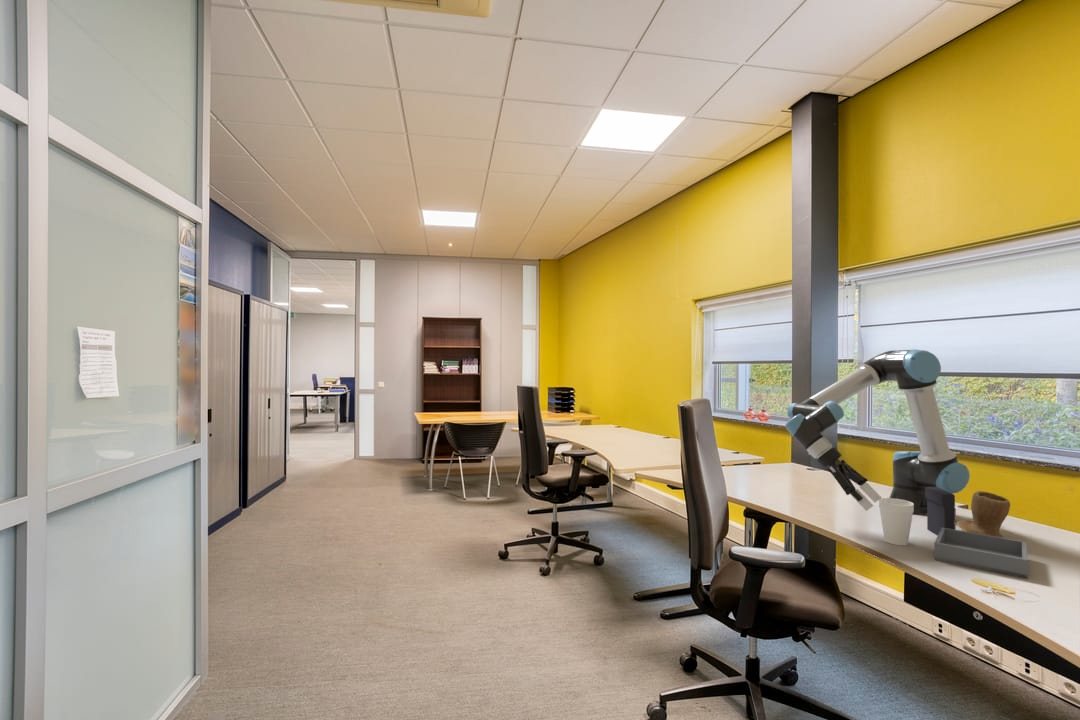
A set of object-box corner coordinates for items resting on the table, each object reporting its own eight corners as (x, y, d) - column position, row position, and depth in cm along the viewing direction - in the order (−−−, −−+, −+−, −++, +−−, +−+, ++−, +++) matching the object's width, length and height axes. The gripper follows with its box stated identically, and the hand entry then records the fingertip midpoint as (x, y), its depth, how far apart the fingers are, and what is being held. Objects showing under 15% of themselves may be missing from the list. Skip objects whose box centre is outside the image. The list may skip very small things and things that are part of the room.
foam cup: (920, 547, 164) (919, 506, 164) (887, 546, 165) (887, 505, 165) (903, 537, 173) (903, 498, 173) (873, 536, 174) (873, 497, 175)
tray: (941, 542, 168) (941, 527, 168) (1026, 558, 155) (1026, 541, 155) (934, 559, 154) (934, 542, 154) (1027, 579, 140) (1027, 560, 140)
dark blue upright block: (957, 540, 171) (957, 494, 171) (942, 539, 171) (942, 494, 172) (939, 530, 181) (939, 487, 181) (925, 529, 182) (925, 486, 182)
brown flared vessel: (1015, 547, 165) (1015, 499, 165) (968, 541, 170) (968, 495, 170) (999, 533, 178) (999, 489, 178) (956, 528, 184) (956, 485, 184)
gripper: (825, 455, 194) (872, 503, 183) (805, 464, 175) (856, 518, 165) (841, 442, 190) (890, 490, 180) (823, 450, 172) (876, 505, 162)
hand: (874, 504), depth 172 cm, fingers open, 13 cm apart
